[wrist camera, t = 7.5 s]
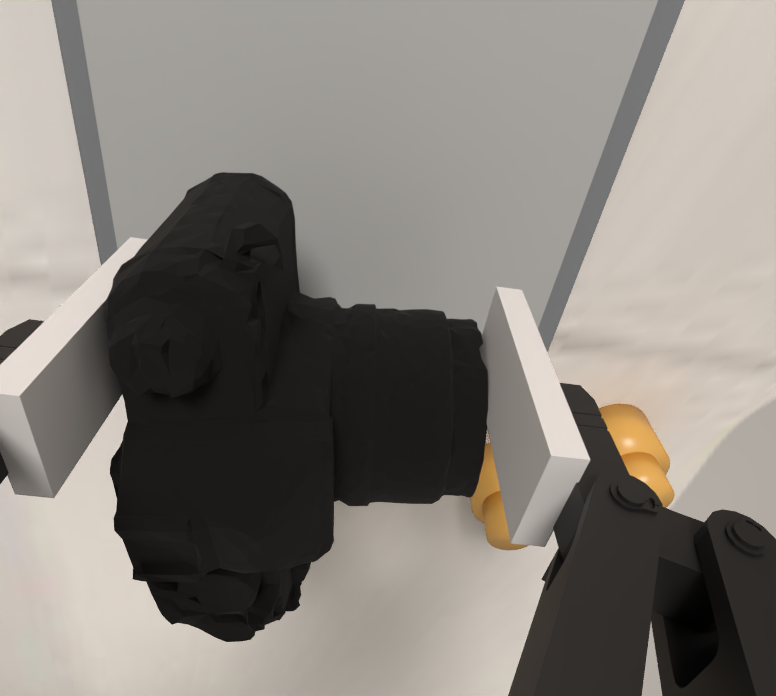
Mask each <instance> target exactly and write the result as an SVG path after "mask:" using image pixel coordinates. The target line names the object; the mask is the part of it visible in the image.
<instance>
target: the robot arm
mask: <svg viewBox="0 0 776 696" xmlns="http://www.w3.org/2000/svg"><path fill="white" fill-rule="evenodd" d="M147 240H148V239H140V238H133V237H130V238H129V239H128V240H127V241H126V242H125V243H124V244H123V245H122V246H121V247H120V248H119V249H118V250H117V251H116V252H115V253H114V254H113V255H112V256H111V257H110V258H109V259H108V260H107V261H106V262H105V263H104V264H103V265H102V266H101V267H100V268H99V269H98V270H97V271H96V272H95V273H93V274H92V275H91V276H90V277H89V278H88V279H87V280H86V281H85V282H84V283H83V284H82V285H81V286H80V287H79V288H78V289H77V290H76V291H75V292H74V293H73V294H72V295H71V296H70V297H69V298H68V299H67V300H66V301H65V302H64V303H63V304H62V305H61V306H60V307H59V308H58V309H57V310H56V311H55V312H54V313H53V314H52V315H51V316H50V317H49V318H48V319H46V320H45V321H38V320H30V319H29V320H27V321H25V322H23V323H21V324H19V325H17V326H15V327H13V328H11V329H9V330H7V331H5V332H4V333H3V334H2V335H1V336H0V484H1V482H2V481H3V480H4V479H5V477H6V476H7V475H8V478H9V480H10V483H11V485H12V488H13V490H14V493H15V494H18V495H28V496H38V497H49V498H54V497H55V496H56V494H57V493H58V491H59V490H60V488H61V487H62V485H63V484H64V482H65V480H66V479H67V477H68V476H69V474H70V473H71V471H72V470H73V468H74V467H75V465H76V464H77V462H78V461H79V459H80V458H81V456H82V455H83V453H84V452H85V450H86V449H87V447H88V445H89V444H90V442H91V441H92V439H93V438H94V436H95V435H96V433H97V432H98V430H99V429H100V427H101V426H102V424H103V423H104V421H105V420H106V418H107V417H108V415H109V413H110V412H111V410H112V409H113V407H114V406H115V404H116V403H117V401H118V400H119V398H120V397H121V395H122V391H121V387H120V384H119V380H118V377H117V376H116V374H115V373H114V371H113V370H112V368H111V367H110V357H109V345H110V342H109V339H108V335H107V331H106V325H105V302H106V299H107V297H108V295H109V293H110V291H111V288H112V284H113V278H114V277H115V275H116V273H117V272H118V270H119V268H120V267H121V265H122V264H124V263H125V262H127V261H128V260H130V259H131V258H133V257H134V256H135V255H136V253H137V252H138V250H139V249H140V248H141V247H142V246H143V244H144V243H145V242H146V241H147ZM482 339H483V344H482V345H481V346H480V348H479V350H480V354H481V358H482V360H483V362H484V364H485V366H486V368H487V370H488V414H487V422H486V423H487V428H488V433H489V438H490V443H491V447H492V452H493V457H494V462H495V467H496V472H497V477H498V482H499V487H500V492H501V497H502V502H503V507H504V512H505V517H506V522H507V527H508V532H509V537H510V541H511V543H512V544H522V545H532V546H542V547H545V546H546V544H547V542H548V540H549V538H550V536H551V534H552V532H553V531H554V532H555V536H556V539H557V543H558V547H559V548H558V550H557V552H556V554H555V556H554V558H553V559H552V561H551V563H550V565H549V567H548V568H547V570H546V572H545V574H544V576H543V578H542V580H544V581H545V584H544V587H543V590H542V593H541V596H540V600H539V603H538V606H537V609H536V612H535V615H534V618H533V621H532V624H531V627H530V630H529V633H528V636H527V639H526V642H525V646H524V649H523V652H522V655H521V658H520V661H519V664H518V667H517V670H516V673H515V676H514V679H513V682H512V685H511V689H510V692H509V695H508V696H641V695H642V687H643V678H644V671H645V663H646V655H647V647H648V639H649V631H650V623H651V622H652V628H653V636H654V642H655V649H656V655H657V662H658V669H659V675H660V681H661V689H662V695H663V696H776V539H775V538H774V537H773V536H772V535H771V534H770V533H769V532H768V531H767V530H766V529H765V528H764V527H763V526H762V525H760V524H759V523H757V522H756V521H754V520H753V519H751V518H750V517H747V516H745V515H742V514H740V513H737V512H735V511H729V510H719V511H715V512H712V514H711V515H710V516H709V518H708V519H707V520H706V521H705V523H704V522H701V521H699V520H696V519H693V518H691V517H688V516H685V515H682V514H679V513H677V512H674V511H671V510H669V509H667V508H665V507H663V504H662V502H661V501H660V499H659V497H658V496H657V494H656V493H655V492H654V491H653V490H652V489H651V488H650V487H649V486H648V485H647V484H646V483H644V482H642V481H641V480H639V479H637V478H636V477H634V476H631V475H630V474H629V472H628V470H627V468H626V466H625V464H624V462H623V460H622V457H621V455H620V453H619V451H618V449H617V447H616V445H615V443H614V440H613V438H612V436H611V434H610V432H609V431H607V429H608V428H607V425H606V423H605V421H604V419H603V418H601V416H602V415H601V413H600V411H599V408H598V406H597V404H596V402H595V400H594V399H593V398H592V397H591V396H590V395H589V394H588V393H587V392H586V391H585V390H584V389H583V388H582V387H581V386H580V385H572V384H564V383H559V381H558V378H557V376H556V373H555V371H554V368H553V366H552V363H551V361H550V358H549V356H548V353H547V351H546V348H545V346H544V343H543V341H542V338H541V336H540V333H539V331H538V328H537V326H536V323H535V321H534V318H533V316H532V313H531V311H530V309H529V306H528V304H527V301H526V299H525V296H524V294H523V291H522V290H519V289H512V288H504V287H497V286H496V290H495V293H494V296H493V300H492V303H491V306H490V310H489V313H488V317H487V320H486V323H485V327H484V330H483V334H482Z"/></svg>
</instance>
